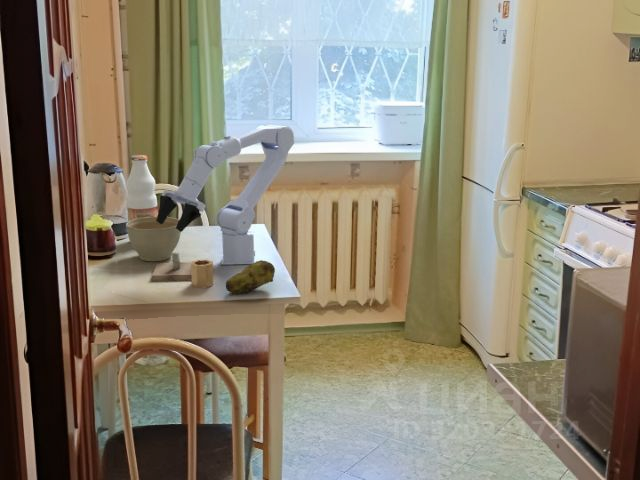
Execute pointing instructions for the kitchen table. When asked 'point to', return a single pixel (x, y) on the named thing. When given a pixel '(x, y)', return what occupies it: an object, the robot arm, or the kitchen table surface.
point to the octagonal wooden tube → (202, 273)
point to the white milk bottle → (141, 190)
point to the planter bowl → (153, 237)
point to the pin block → (172, 270)
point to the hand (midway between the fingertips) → (168, 226)
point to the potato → (251, 277)
